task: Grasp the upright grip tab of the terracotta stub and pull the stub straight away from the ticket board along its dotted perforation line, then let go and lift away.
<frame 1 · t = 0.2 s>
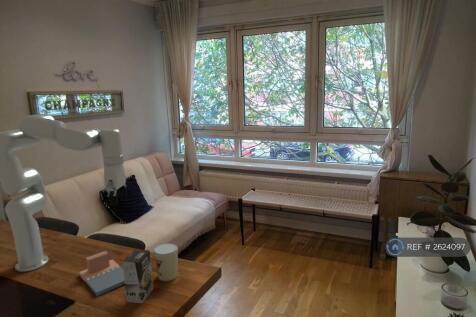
hand: (118, 201, 134), 30 cm above the table, tool pointing down, fingers open, 9 cm apart
coffee cup: (168, 275, 134), on the table
ticket: (109, 282, 130), on the table
coffee box: (140, 295, 121), on the table
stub: (98, 264, 137), point 4 cm above the table, slide at 0.0 cm
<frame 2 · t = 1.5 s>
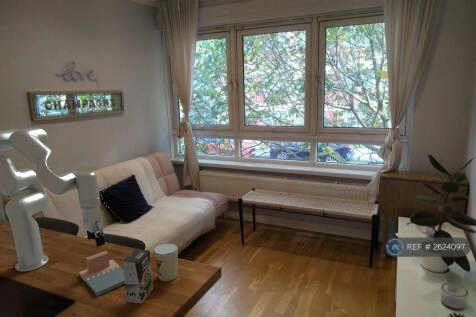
hand: (96, 241, 135), 14 cm above the table, tool pointing down, fingers open, 9 cm apart
nothing on the table moved.
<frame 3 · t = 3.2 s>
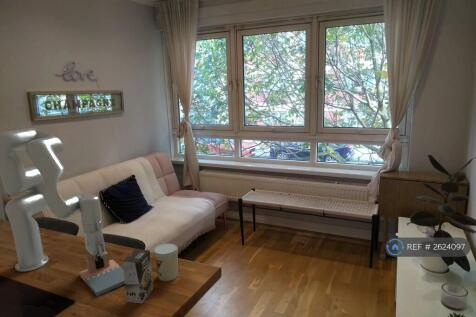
hand: (98, 266, 137), 3 cm above the table, tool pointing down, fingers closed on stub, 3 cm apart
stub: (98, 264, 137), point 4 cm above the table, slide at 0.0 cm, touching gripper
everything else where it was.
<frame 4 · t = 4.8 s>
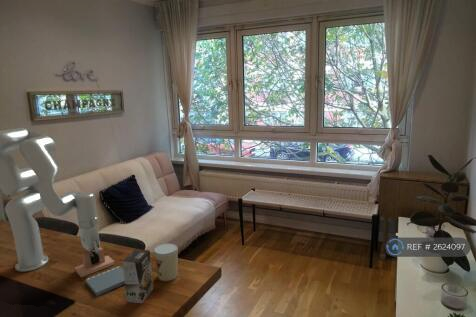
hand: (94, 261, 141), 3 cm above the table, tool pointing down, fingers closed on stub, 3 cm apart
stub: (94, 259, 141), point 4 cm above the table, slide at 5.2 cm, touching gripper
everything else where it was.
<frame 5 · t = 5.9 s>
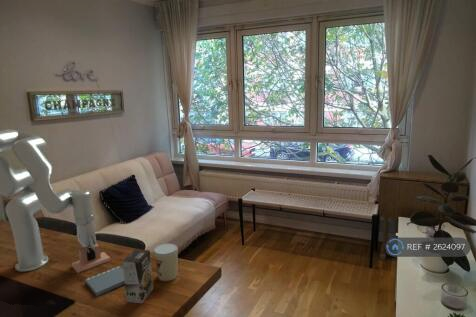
hand: (90, 257, 145), 3 cm above the table, tool pointing down, fingers closed on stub, 3 cm apart
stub: (90, 255, 144), point 4 cm above the table, slide at 9.9 cm, touching gripper
everything else where it was.
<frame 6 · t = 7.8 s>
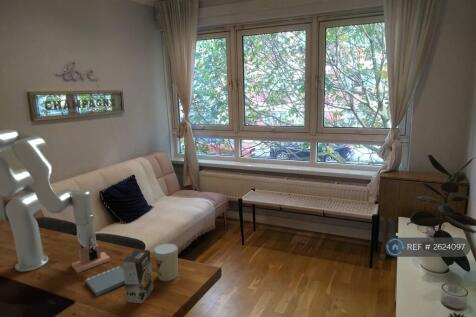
hand: (89, 255, 144), 4 cm above the table, tool pointing down, fingers open, 9 cm apart
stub: (90, 255, 144), point 4 cm above the table, slide at 10.0 cm
everything else where it was.
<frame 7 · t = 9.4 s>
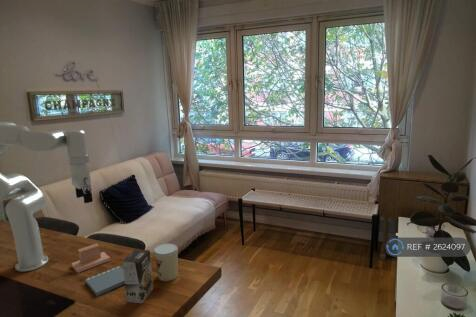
hand: (84, 199, 138), 30 cm above the table, tool pointing down, fingers open, 9 cm apart
nothing on the table moved.
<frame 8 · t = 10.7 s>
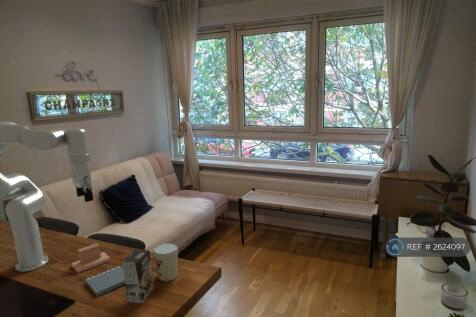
hand: (85, 198, 138), 30 cm above the table, tool pointing down, fingers open, 9 cm apart
nothing on the table moved.
at the end: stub slide at 10.0 cm; the gripper is holding nothing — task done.
